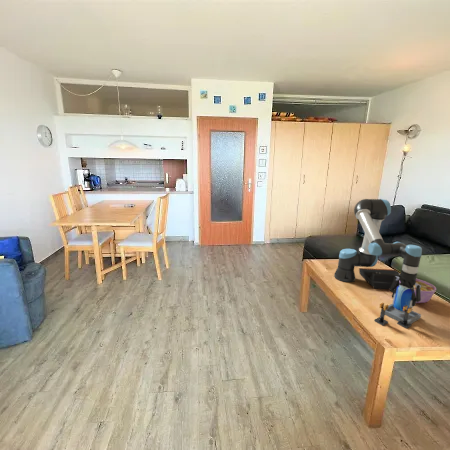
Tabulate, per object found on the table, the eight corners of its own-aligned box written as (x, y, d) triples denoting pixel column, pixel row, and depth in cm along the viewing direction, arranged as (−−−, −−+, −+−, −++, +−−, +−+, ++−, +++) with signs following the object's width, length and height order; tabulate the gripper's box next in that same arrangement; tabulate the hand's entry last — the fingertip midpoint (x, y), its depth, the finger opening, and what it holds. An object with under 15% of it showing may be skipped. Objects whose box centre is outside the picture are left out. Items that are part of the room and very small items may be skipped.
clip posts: (374, 321, 149) (377, 303, 146) (387, 314, 156) (390, 297, 153) (398, 333, 138) (402, 315, 135) (411, 325, 145) (415, 308, 142)
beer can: (402, 314, 149) (407, 290, 145) (389, 307, 156) (394, 283, 153) (413, 312, 151) (418, 288, 147) (400, 305, 159) (405, 281, 155)
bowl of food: (398, 289, 186) (401, 274, 183) (433, 298, 174) (436, 283, 171) (394, 300, 171) (397, 284, 168) (432, 311, 159) (436, 295, 156)
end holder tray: (380, 312, 157) (381, 309, 157) (393, 306, 165) (394, 302, 164) (407, 326, 145) (408, 322, 144) (420, 318, 152) (421, 314, 151)
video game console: (394, 276, 208) (396, 265, 206) (413, 291, 184) (415, 279, 182) (358, 274, 211) (359, 263, 208) (372, 289, 187) (374, 276, 184)
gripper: (386, 266, 155) (380, 299, 160) (427, 280, 137) (419, 317, 142) (393, 264, 158) (387, 296, 164) (433, 277, 141) (425, 313, 146)
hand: (402, 306), depth 153 cm, fingers closed on beer can, 8 cm apart
